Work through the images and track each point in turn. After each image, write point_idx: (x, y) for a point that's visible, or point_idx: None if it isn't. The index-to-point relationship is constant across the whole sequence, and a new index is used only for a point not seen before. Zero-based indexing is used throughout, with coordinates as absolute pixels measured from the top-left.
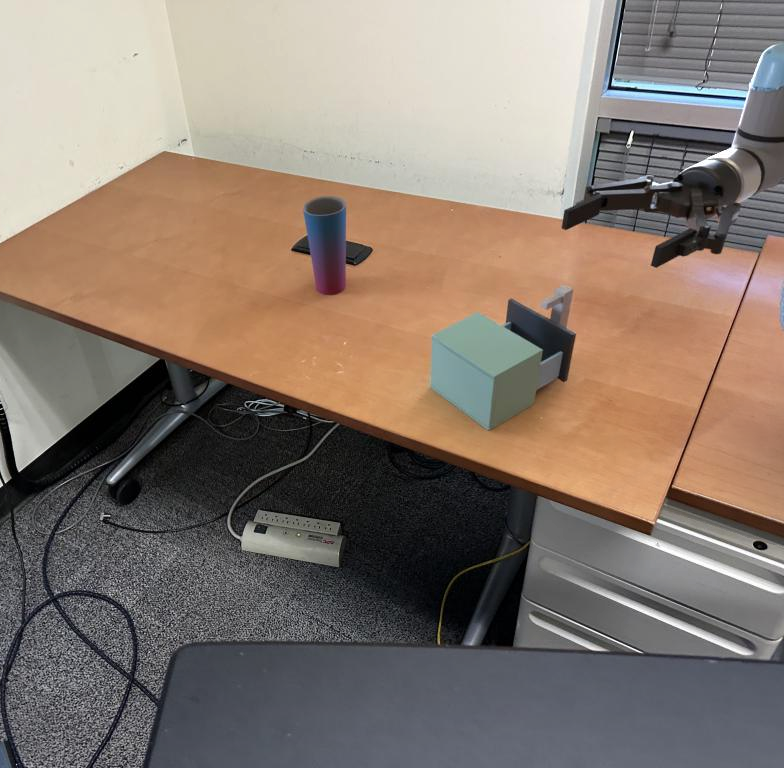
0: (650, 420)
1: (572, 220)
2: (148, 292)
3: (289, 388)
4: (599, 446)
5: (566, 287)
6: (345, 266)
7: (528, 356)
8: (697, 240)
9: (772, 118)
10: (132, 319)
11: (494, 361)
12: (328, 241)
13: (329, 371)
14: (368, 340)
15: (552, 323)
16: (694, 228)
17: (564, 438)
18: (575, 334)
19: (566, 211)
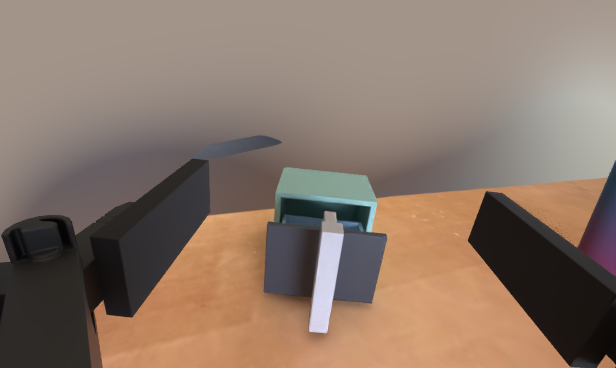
0: (143, 305)
1: (485, 233)
2: (587, 205)
3: (410, 197)
4: (188, 252)
5: (333, 231)
6: (607, 259)
7: (280, 183)
8: (84, 233)
9: None
10: (539, 191)
11: (298, 174)
12: (600, 198)
13: (418, 213)
14: (453, 244)
15: (304, 225)
16: (92, 335)
17: (222, 245)
18: (267, 224)
19: (493, 192)
